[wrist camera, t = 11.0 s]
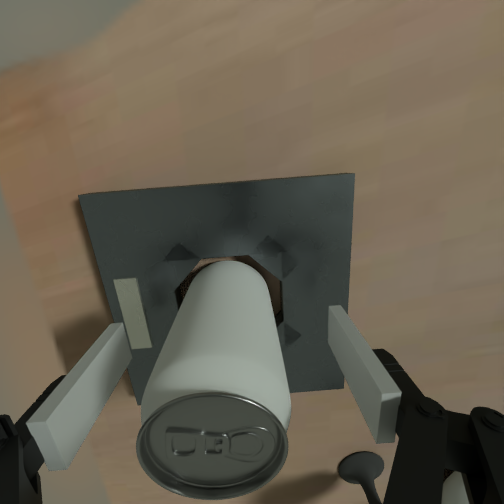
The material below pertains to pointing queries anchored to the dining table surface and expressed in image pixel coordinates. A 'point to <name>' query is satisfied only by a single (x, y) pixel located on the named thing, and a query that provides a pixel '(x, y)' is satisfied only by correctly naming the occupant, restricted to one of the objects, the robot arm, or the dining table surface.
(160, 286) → the socket plate
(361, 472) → the sundae
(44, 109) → the dining table surface
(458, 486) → the flower in vase
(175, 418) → the can
